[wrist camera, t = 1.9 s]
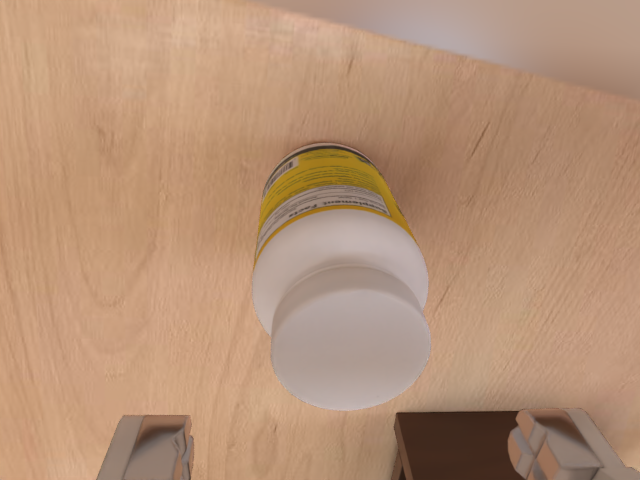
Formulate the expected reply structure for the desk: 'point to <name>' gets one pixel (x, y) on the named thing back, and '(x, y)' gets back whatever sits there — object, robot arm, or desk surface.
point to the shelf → (454, 446)
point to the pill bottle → (339, 281)
